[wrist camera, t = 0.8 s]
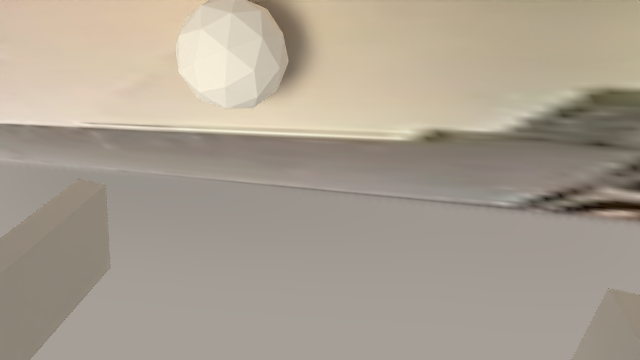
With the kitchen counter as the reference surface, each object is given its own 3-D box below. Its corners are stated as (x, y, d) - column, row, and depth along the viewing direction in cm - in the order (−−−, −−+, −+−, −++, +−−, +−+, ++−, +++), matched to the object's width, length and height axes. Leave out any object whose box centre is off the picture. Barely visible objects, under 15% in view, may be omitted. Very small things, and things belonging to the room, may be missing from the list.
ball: (253, 63, 43) (196, 130, 39) (200, -23, 37) (129, 45, 34) (323, 62, 38) (267, 138, 34) (275, -37, 33) (202, 41, 29)
